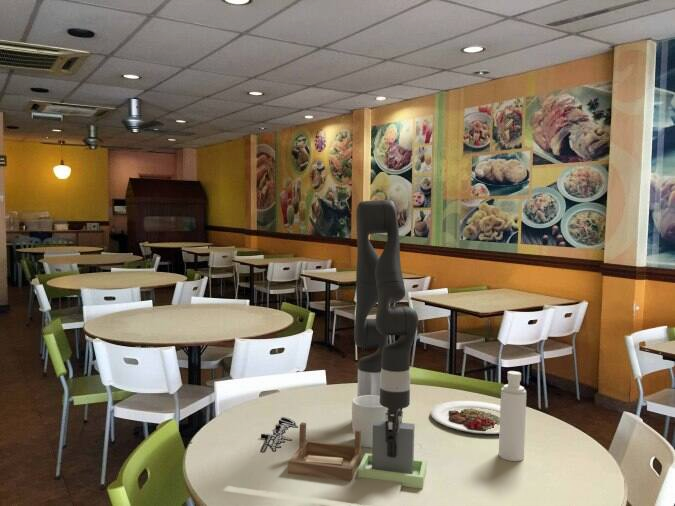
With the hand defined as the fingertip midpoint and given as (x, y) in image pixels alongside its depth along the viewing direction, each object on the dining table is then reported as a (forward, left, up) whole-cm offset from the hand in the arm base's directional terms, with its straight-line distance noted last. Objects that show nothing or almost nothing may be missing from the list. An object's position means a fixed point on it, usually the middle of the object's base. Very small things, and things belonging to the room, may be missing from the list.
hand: (393, 452), depth 141 cm
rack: (+1, -17, -6) cm, 18 cm away
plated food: (-48, +21, -6) cm, 53 cm away
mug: (-18, -8, -6) cm, 21 cm away
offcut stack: (+5, -17, -5) cm, 18 cm away
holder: (0, 0, -6) cm, 6 cm away
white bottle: (-21, +30, -6) cm, 37 cm away
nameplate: (-16, -36, -6) cm, 40 cm away
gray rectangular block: (0, 0, -5) cm, 5 cm away
